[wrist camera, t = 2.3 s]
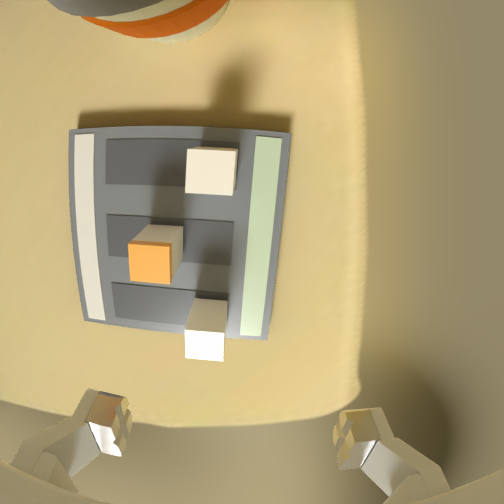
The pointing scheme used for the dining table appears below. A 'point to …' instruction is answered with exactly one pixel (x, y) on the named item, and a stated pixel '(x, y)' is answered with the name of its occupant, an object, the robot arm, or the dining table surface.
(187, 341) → the block
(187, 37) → the reusable coffee cup
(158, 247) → the block
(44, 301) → the dining table surface
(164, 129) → the panel
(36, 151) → the dining table surface
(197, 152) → the block
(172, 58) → the dining table surface
